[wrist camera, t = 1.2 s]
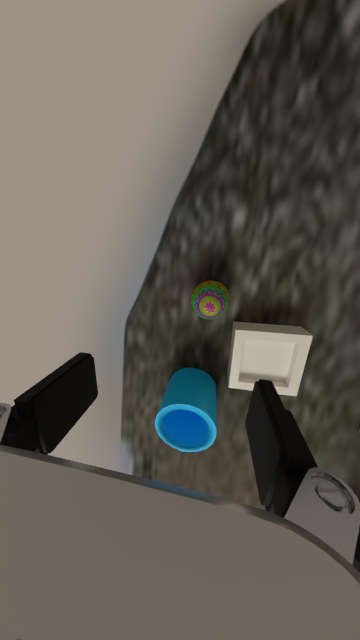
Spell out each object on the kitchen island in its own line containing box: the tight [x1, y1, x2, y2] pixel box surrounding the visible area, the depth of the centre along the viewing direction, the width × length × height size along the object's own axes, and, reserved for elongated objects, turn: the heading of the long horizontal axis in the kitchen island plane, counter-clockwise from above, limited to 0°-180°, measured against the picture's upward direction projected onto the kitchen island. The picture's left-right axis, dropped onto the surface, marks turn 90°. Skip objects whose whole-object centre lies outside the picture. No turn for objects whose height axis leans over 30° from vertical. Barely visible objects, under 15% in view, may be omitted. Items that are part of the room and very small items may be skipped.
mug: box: [155, 368, 216, 452], centre depth 29 cm, size 12×8×8 cm
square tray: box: [227, 322, 313, 396], centre depth 26 cm, size 9×9×3 cm
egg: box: [191, 281, 230, 319], centre depth 23 cm, size 5×5×6 cm
